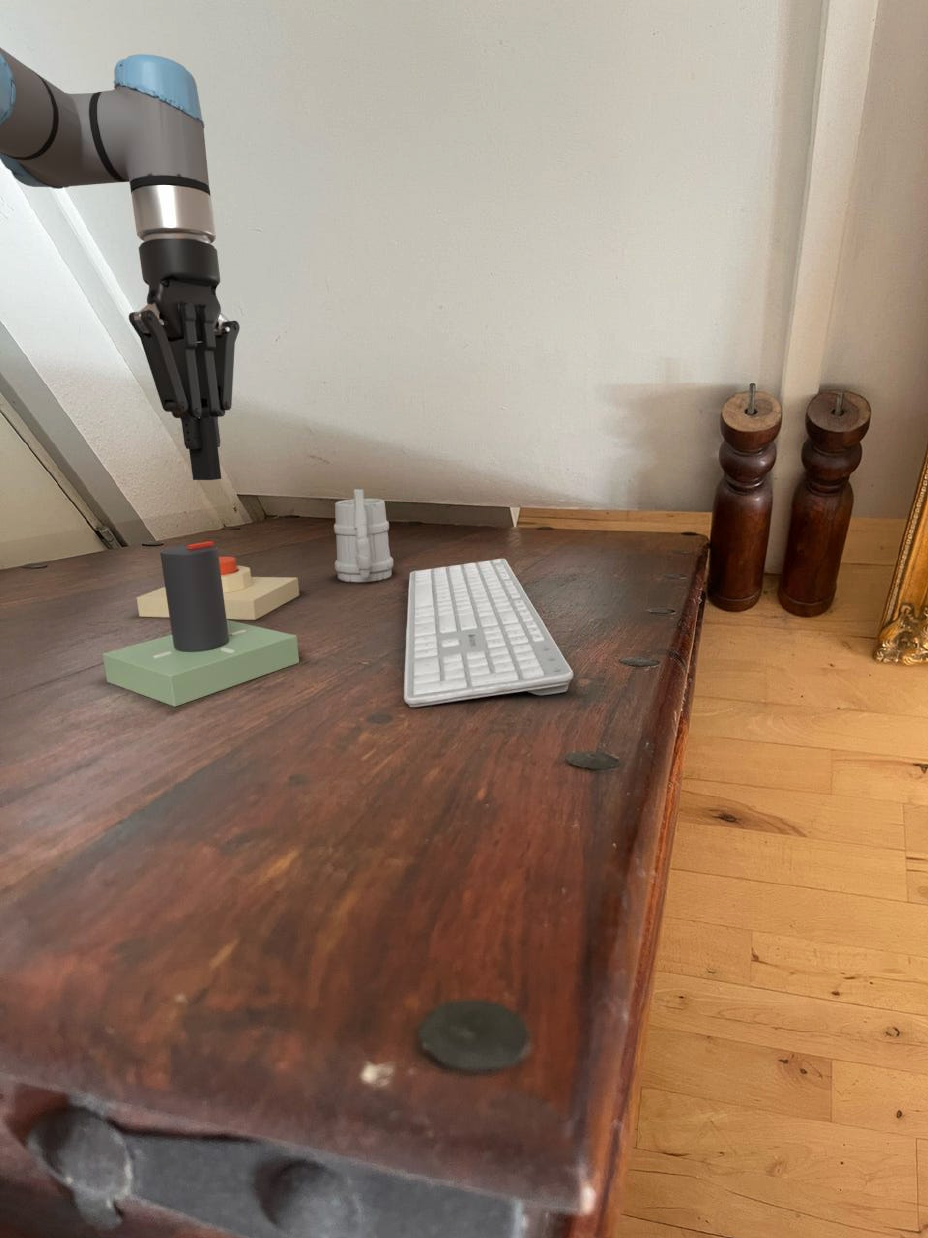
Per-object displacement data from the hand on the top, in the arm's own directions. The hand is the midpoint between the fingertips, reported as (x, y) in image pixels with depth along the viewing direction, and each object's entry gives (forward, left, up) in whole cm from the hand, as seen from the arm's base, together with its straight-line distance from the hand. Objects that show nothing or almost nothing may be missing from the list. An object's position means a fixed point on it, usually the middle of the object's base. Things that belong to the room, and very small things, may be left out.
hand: (207, 479), depth 82 cm
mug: (+8, +17, -15) cm, 24 cm away
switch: (0, 0, -11) cm, 11 cm away
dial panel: (+16, -18, -14) cm, 28 cm away
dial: (+16, -18, -12) cm, 27 cm away
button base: (0, 0, -14) cm, 14 cm away
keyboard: (+30, +3, -15) cm, 34 cm away
